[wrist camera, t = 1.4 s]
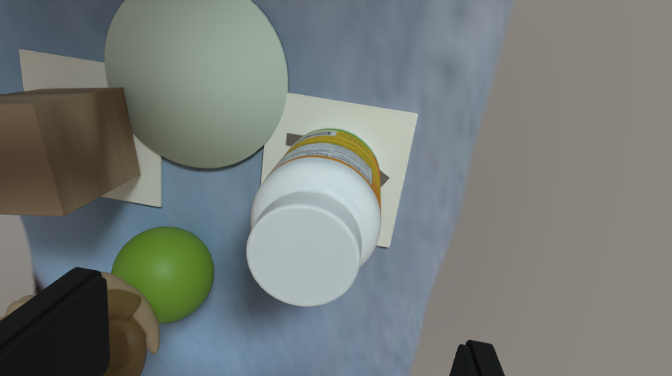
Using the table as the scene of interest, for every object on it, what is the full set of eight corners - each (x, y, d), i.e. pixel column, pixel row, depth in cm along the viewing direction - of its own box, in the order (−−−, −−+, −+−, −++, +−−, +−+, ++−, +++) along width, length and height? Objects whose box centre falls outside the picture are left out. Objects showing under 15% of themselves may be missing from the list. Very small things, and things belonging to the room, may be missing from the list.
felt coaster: (104, -40, 21) (99, -41, 20) (298, -10, 20) (297, -11, 20) (113, 150, 24) (108, 152, 24) (279, 179, 24) (277, 181, 23)
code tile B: (21, 48, 23) (18, 48, 23) (162, 71, 22) (160, 72, 22) (37, 183, 26) (34, 185, 25) (162, 205, 25) (160, 207, 25)
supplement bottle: (348, 233, 24) (329, 348, 15) (268, 186, 24) (200, 277, 15) (399, 159, 23) (413, 240, 13) (315, 106, 22) (269, 153, 13)
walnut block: (41, 88, 23) (-72, 105, 18) (123, 87, 22) (32, 104, 17) (64, 173, 25) (-32, 213, 19) (140, 174, 24) (64, 216, 19)
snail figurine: (190, 184, 25) (31, 307, 13) (242, 272, 26) (140, 446, 15) (119, 217, 26) (-82, 354, 15) (173, 298, 28) (31, 477, 16)
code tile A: (270, 89, 22) (269, 89, 22) (417, 113, 22) (418, 114, 22) (258, 223, 25) (257, 224, 25) (389, 246, 25) (389, 247, 24)
